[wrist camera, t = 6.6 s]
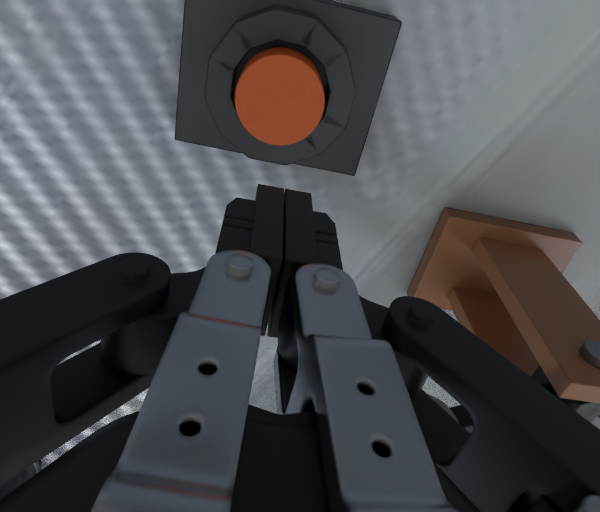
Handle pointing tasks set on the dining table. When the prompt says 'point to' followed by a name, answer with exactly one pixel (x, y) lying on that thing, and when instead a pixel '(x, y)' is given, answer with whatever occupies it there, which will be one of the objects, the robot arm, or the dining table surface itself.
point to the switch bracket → (515, 296)
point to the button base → (296, 35)
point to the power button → (279, 96)
